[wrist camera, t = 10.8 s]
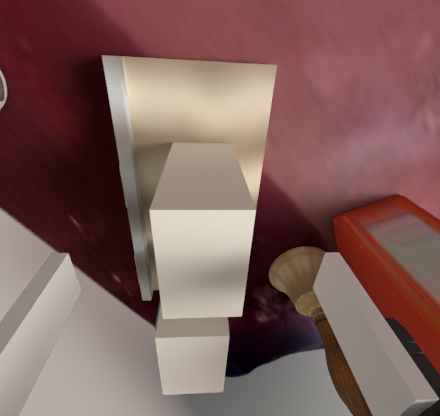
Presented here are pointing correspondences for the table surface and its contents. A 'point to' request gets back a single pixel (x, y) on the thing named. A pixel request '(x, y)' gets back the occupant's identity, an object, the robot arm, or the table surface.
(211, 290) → the carton
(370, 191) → the table surface
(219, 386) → the carton
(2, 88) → the supplement bottle
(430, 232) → the file binder
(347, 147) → the table surface
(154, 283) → the thin cream board
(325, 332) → the hand bell
